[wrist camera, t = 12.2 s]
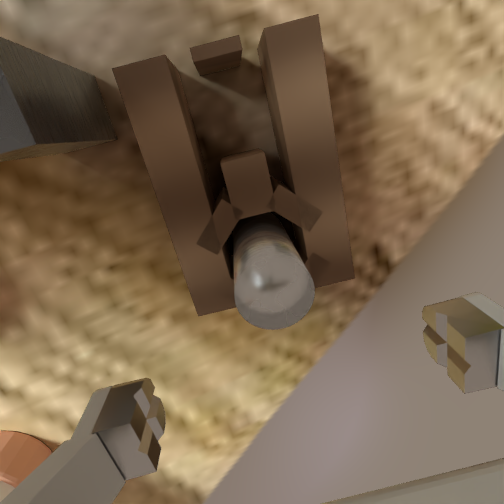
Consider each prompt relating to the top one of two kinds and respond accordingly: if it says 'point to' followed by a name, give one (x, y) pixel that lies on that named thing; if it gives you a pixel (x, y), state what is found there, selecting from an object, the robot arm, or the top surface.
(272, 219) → the cylinder
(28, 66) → the square bit
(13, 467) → the pepper shaker
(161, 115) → the bore block
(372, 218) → the top surface
